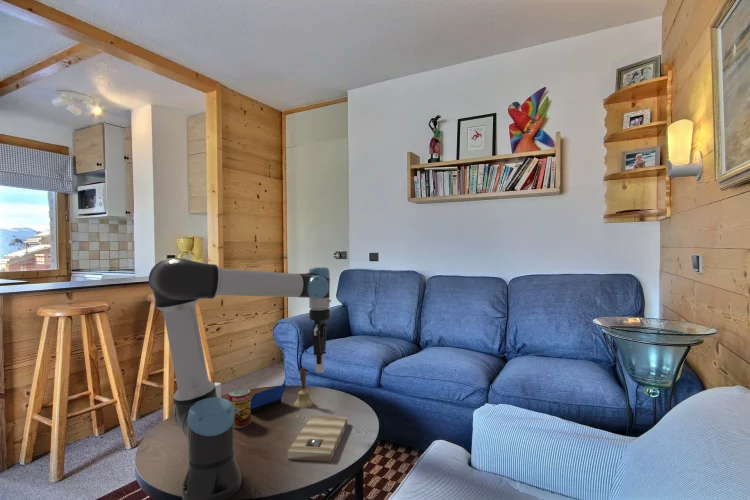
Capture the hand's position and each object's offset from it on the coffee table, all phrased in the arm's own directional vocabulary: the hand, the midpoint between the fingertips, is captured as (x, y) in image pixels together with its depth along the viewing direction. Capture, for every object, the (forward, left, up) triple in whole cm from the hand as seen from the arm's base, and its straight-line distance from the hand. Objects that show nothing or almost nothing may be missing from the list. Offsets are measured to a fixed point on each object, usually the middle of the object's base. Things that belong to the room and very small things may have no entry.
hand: (319, 371), depth 143 cm
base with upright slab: (+6, +47, -21) cm, 52 cm away
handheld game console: (+17, +30, -21) cm, 41 cm away
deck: (-9, -2, -21) cm, 23 cm away
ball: (-16, -2, -19) cm, 25 cm away
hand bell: (+21, +13, -21) cm, 32 cm away
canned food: (+1, +32, -21) cm, 38 cm away
